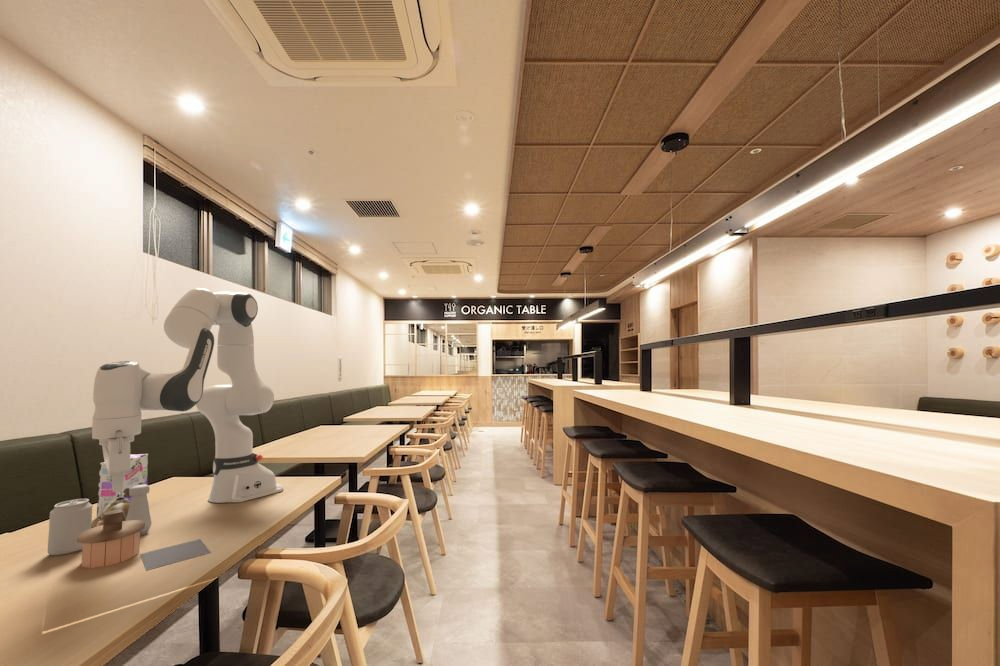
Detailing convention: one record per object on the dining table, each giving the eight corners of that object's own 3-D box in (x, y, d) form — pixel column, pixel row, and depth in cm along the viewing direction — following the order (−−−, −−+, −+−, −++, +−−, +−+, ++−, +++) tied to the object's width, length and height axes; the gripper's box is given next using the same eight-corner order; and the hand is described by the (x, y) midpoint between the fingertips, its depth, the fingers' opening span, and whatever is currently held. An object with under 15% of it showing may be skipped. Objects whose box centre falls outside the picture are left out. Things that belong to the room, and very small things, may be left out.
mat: (200, 540, 110) (200, 538, 110) (210, 554, 102) (210, 552, 102) (140, 555, 102) (140, 554, 102) (146, 572, 93) (146, 570, 93)
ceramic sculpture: (140, 487, 130) (148, 500, 120) (139, 515, 130) (147, 531, 119) (92, 495, 122) (96, 510, 112) (91, 526, 122) (95, 543, 112)
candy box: (117, 516, 130) (119, 461, 131) (95, 518, 129) (98, 462, 130) (147, 502, 143) (149, 452, 145) (127, 503, 143) (130, 453, 144)
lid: (142, 519, 109) (142, 500, 110) (148, 532, 101) (148, 511, 101) (76, 533, 101) (77, 512, 101) (76, 548, 92) (78, 525, 93)
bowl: (136, 546, 107) (137, 521, 108) (141, 558, 100) (142, 532, 101) (81, 559, 100) (82, 533, 101) (81, 573, 93) (83, 545, 94)
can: (40, 560, 100) (43, 508, 101) (57, 548, 107) (60, 499, 108) (81, 554, 103) (84, 503, 104) (96, 542, 110) (98, 495, 111)
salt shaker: (134, 539, 112) (136, 489, 113) (117, 538, 113) (119, 488, 114) (156, 530, 117) (158, 483, 118) (139, 529, 119) (142, 482, 120)
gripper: (139, 431, 98) (137, 492, 97) (130, 422, 112) (129, 475, 111) (101, 435, 93) (99, 499, 92) (97, 426, 108) (96, 481, 107)
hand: (115, 486), depth 102 cm, fingers open, 8 cm apart
